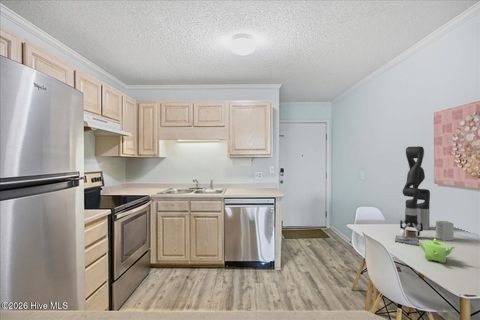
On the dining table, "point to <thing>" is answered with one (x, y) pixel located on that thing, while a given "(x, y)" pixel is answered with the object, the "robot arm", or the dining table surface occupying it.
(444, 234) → the supplement box
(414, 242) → the post stand
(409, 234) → the wooden square frame
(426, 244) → the kettle
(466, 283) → the dining table surface
